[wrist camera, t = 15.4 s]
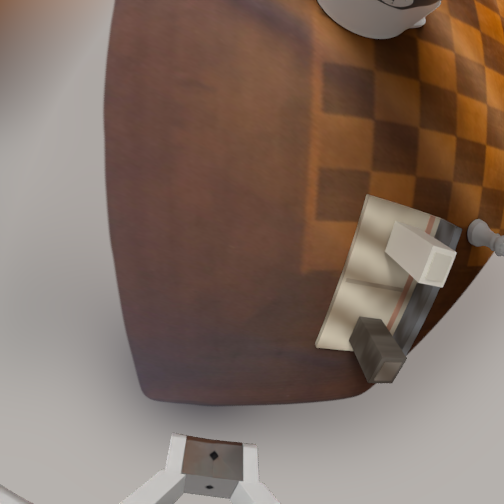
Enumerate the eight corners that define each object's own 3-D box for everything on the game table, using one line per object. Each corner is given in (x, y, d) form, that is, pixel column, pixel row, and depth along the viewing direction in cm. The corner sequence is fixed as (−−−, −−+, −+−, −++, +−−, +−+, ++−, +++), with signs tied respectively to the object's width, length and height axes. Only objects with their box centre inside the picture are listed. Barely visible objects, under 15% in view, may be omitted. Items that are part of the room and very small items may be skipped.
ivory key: (395, 220, 37) (434, 246, 28) (417, 227, 38) (457, 253, 28) (384, 251, 39) (419, 283, 30) (407, 256, 39) (443, 288, 30)
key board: (366, 193, 37) (382, 201, 33) (443, 219, 39) (462, 229, 34) (315, 343, 46) (321, 364, 41) (387, 350, 47) (398, 368, 42)
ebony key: (359, 316, 42) (383, 358, 33) (381, 319, 43) (407, 359, 34) (348, 340, 44) (368, 384, 35) (370, 342, 44) (392, 384, 35)
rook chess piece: (486, 232, 40) (516, 248, 32) (470, 249, 41) (499, 268, 33) (478, 212, 38) (510, 227, 31) (462, 229, 39) (493, 247, 32)
